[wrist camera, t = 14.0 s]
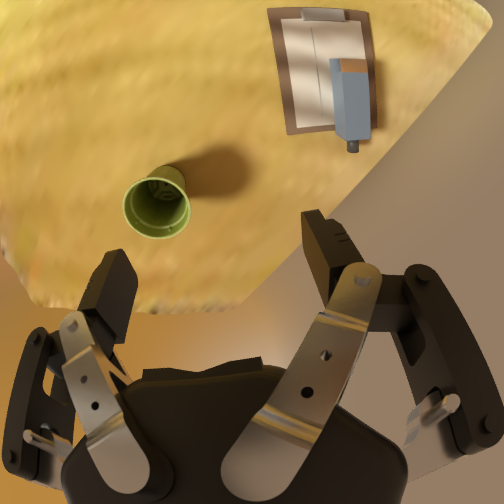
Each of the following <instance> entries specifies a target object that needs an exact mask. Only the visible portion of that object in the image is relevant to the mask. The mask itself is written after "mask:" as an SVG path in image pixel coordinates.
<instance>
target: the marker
mask: <svg viewBox="0 0 504 504" xmlns="http://www.w3.org/2000/svg"><path fill="white" fill-rule="evenodd" d="M329 63H330V72H331V81H332V91H333V103H334V116H335V133H336V135H338V136H340V137H341V138H343V139H344V140H345V141H347V151H348V152H350V153H358V152H359V140H366V139H371V130H370V96H369V80H368V68H367V59H349V58H333V59H329Z"/></svg>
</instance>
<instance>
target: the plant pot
mask: <svg viewBox="0 0 504 504" xmlns="http://www.w3.org/2000/svg"><path fill="white" fill-rule="evenodd" d="M152 180H153V187H154V188H152V185H151V181H152ZM165 183H167V184H168V185H167V186H165ZM163 196H172V197H171V198H165V197H163ZM123 213H124V217H125V219H126V221H127V223H128V224H129V225H130V226H131V227H132V228H133V229H134V230H135V231H136V232H137V233H139V234H140V235H142V236H145V237H148V238H152V239H167V238H170V237H173V236H175V235H177V234H179V233H180V232H181V231H182V230H184V228H185V227H186V226H187V224H188V222H189V220H190V217H191V204H190V201H189V198H188V196H187V194H186V185H185V179H184V176H183V174H182V173H180V172H179V171H178V170H177V169H176V168H174V167H171V166H161V167H158V168H156V169H155V170H153V171H152V172H151V173H150V174H149V175H148V176H147V177H146V178H143V179H140V180H138V181H137V182H135V183H134V184H133V185H132V186H131V187H130V188H129V189H128V190H127V192H126V193H125V196H124V199H123Z"/></svg>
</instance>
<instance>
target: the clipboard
mask: <svg viewBox="0 0 504 504" xmlns="http://www.w3.org/2000/svg"><path fill="white" fill-rule="evenodd" d="M267 13H268V18H269V23H270V28H271V34H272V39H273V45H274V50H275V56H276V62H277V68H278V75H279V81H280V88H281V94H282V101H283V109H284V116H285V124H286V131H287V135H294V134H302V133H311V132H321V131H332V130H335V116H334V103H333V91H332V81H331V72H330V63H329V59H333V58H349V59H367V68H368V80H369V96H370V128H377V105H376V85H375V71H374V60H373V51H372V43H371V35H370V29H369V22H368V16H367V12H365V11H358V10H349V9H338V8H321V7H282V8H267Z"/></svg>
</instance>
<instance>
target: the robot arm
mask: <svg viewBox="0 0 504 504" xmlns="http://www.w3.org/2000/svg"><path fill="white" fill-rule="evenodd" d="M301 227H302V242H303V249H304V253H305V256H306V259H307V261H308V264H309V266H310V269H311V272H312V274H313V277H314V279H315V282H316V284H317V287H318V290H319V293H320V295H321V298H322V301H323V304H324V306H325V311H324V312H323V313H322V312H319V313H318V315H317V316H316V317H315V319H314V321H313V323H312V325H311V327H310V329H309V331H308V332H307V334H306V336H305V338H304V340H303V342H302V344H301V345H300V347H299V349H298V351H297V352H296V354H295V356H294V358H293V359H292V361H291V363H290V365H289V366H288V368H287V369H284V368H281V367H277V366H272V365H263V362H262V359H261V357H255V358H249V359H243V360H236V361H230V362H226V363H224V364H221V365H218V366H215V367H213V368H210V369H207V370H205V371H201V372H192V371H185V370H179V369H173V368H157V369H143V375H142V378H141V379H138V380H136V381H134V382H133V380H132V379H131V377H130V376H129V374H128V372H127V371H126V369H125V367H124V365H123V363H122V362H121V360H120V358H119V356H118V354H117V353H116V351H115V350H114V349H113V347H114V344H123V343H124V342H125V337H126V332H127V328H128V323H129V319H130V315H131V311H132V307H133V303H134V299H135V295H136V292H137V288H138V278H137V274H136V272H135V270H134V269H133V267H132V265H131V263H130V261H129V259H128V257H127V256H126V254H125V252H124V251H123V250H122V249H117V250H112V251H108V252H106V253H105V255H104V257H103V259H102V262H101V264H100V265H99V266H98V267H97V268H96V269H95V271H94V272H93V273H92V276H91V278H90V280H89V281H90V282H88V285H87V287H86V288H87V289H85V292H84V294H83V297H82V299H81V302H80V304H79V307H78V309H77V311H74V312H72V313H70V314H68V315H67V316H66V317H65V318H64V319H63V320H62V322H61V324H60V327H59V330H57V331H55V332H53V333H50V334H49V333H48V332H47V331H46V330H45V328H43V327H38V328H36V329H34V330H33V331H32V332H31V334H30V335H29V337H28V339H27V341H26V344H25V347H24V350H23V353H22V356H21V359H20V363H19V366H18V370H17V373H16V377H15V380H14V384H13V389H12V393H11V397H10V401H9V406H8V412H7V417H6V423H5V430H4V437H3V446H2V461H3V464H4V467H5V468H6V470H7V471H8V472H9V473H12V474H14V475H16V476H19V477H21V478H24V479H25V480H27V481H30V482H33V483H35V484H39V485H42V486H45V487H51V488H54V489H58V490H62V491H63V492H64V494H65V497H66V499H67V502H68V504H400V503H401V499H402V496H403V493H404V490H405V487H406V484H407V483H408V482H410V481H412V480H415V479H417V478H420V477H422V476H424V475H427V474H429V473H431V472H433V471H435V470H437V469H439V468H441V467H443V466H445V465H447V464H449V463H451V462H454V461H457V460H460V459H463V458H465V457H468V456H470V455H473V454H476V453H478V452H480V451H483V450H485V449H487V448H489V447H491V446H494V445H495V444H496V443H497V442H499V440H500V439H501V438H502V436H503V434H504V406H503V403H502V400H501V397H500V395H499V392H498V389H497V387H496V384H495V382H494V379H493V377H492V374H491V372H490V369H489V367H488V365H487V362H486V360H485V358H484V356H483V354H482V352H481V350H480V348H479V346H478V343H477V341H476V339H475V337H474V335H473V334H472V332H471V330H470V328H469V326H468V324H467V322H466V320H465V318H464V317H463V315H462V313H461V311H460V310H459V308H458V306H457V304H456V303H455V301H454V299H453V298H452V296H451V294H450V293H449V291H448V290H447V288H446V286H445V285H444V283H443V282H442V280H441V278H440V277H439V275H438V274H437V273H436V271H435V270H433V269H432V268H430V267H429V266H426V265H422V264H414V265H411V266H409V267H408V268H407V269H406V271H405V273H404V275H385V274H381V272H380V271H379V269H378V268H376V267H375V266H373V265H371V264H369V263H365V261H364V259H363V258H362V256H361V255H360V253H359V251H358V250H357V248H356V247H355V245H354V243H353V242H352V240H351V239H350V237H349V235H348V234H347V233H346V231H345V229H344V228H343V226H342V225H341V224H340V223H338V222H337V221H335V220H334V219H328V220H325V218H324V217H323V215H322V214H321V212H320V210H319V209H316V210H310V211H305V212H301ZM370 331H371V332H390V333H391V335H392V338H393V340H394V343H395V345H396V348H397V350H398V353H399V356H400V359H401V361H402V364H403V367H404V370H405V373H406V376H407V379H408V382H409V385H410V388H411V391H412V394H413V397H414V400H415V404H416V407H415V408H414V409H413V410H412V411H411V412H410V414H409V416H408V419H407V437H406V440H405V442H404V444H403V446H402V447H401V448H399V447H398V446H397V445H396V444H395V443H394V442H392V441H391V440H389V439H388V438H386V437H385V436H383V435H382V434H380V433H379V432H377V431H375V430H374V429H373V428H371V427H370V426H368V425H367V424H365V423H364V422H362V421H361V420H359V419H358V418H356V417H355V416H353V415H352V414H351V413H349V412H348V411H346V410H345V409H343V408H342V407H341V406H339V403H340V401H341V399H342V397H343V395H344V392H345V390H346V388H347V385H348V383H349V381H350V378H351V376H352V373H353V370H354V368H355V366H356V363H357V360H358V358H359V355H360V353H361V350H362V348H363V345H364V342H365V339H366V337H367V334H368V332H370ZM46 367H47V368H48V369H49V370H50V371H51V372H52V373H54V374H55V375H54V379H53V384H52V389H51V394H50V396H48V395H47V394H46V393H45V392H44V390H43V379H44V375H45V371H46ZM75 412H77V414H78V417H79V419H80V422H81V424H82V426H83V428H84V431H85V433H86V434H85V435H84V437H83V438H82V439H81V440H80V442H79V443H78V444H77V445H76V447H75V448H74V449H73V447H72V444H73V431H74V421H75Z"/></svg>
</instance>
